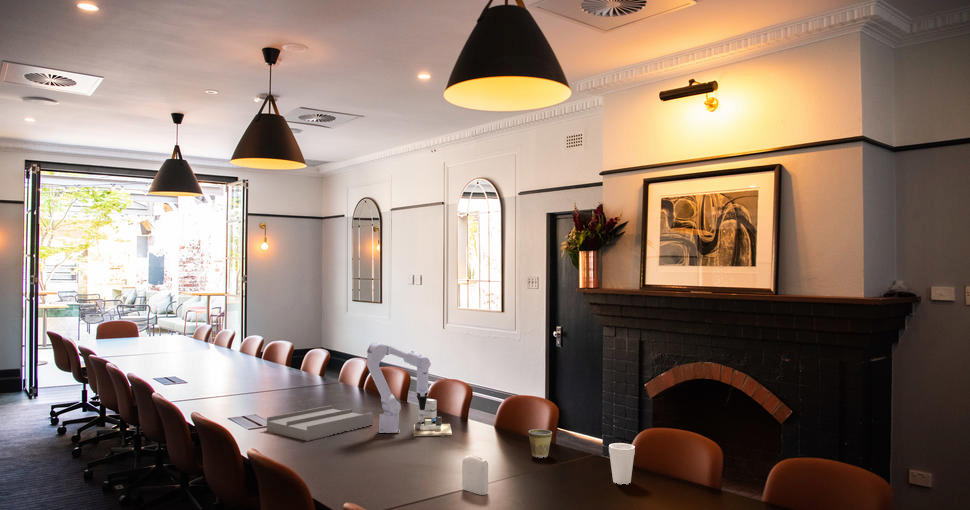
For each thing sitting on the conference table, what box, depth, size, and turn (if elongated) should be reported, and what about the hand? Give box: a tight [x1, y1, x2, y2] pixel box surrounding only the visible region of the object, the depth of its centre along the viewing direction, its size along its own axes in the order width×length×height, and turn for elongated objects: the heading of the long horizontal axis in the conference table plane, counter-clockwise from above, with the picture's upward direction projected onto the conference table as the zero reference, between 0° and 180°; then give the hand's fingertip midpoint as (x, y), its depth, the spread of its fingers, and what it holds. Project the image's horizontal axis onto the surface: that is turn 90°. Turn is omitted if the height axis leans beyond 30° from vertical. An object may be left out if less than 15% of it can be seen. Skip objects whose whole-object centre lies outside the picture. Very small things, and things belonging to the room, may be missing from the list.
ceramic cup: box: [528, 428, 553, 459], centre depth 274 cm, size 13×10×10 cm
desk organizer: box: [266, 404, 373, 442], centre depth 320 cm, size 32×40×7 cm
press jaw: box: [425, 419, 431, 425], centre depth 316 cm, size 3×3×4 cm
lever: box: [415, 416, 443, 431], centre depth 311 cm, size 13×3×6 cm, turn 98°
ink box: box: [417, 398, 438, 422], centre depth 336 cm, size 8×5×12 cm, turn 59°
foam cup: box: [608, 442, 636, 485], centre depth 238 cm, size 10×9×13 cm
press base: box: [413, 417, 453, 436], centre depth 314 cm, size 18×20×6 cm
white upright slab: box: [461, 454, 489, 496], centre depth 225 cm, size 10×4×12 cm, turn 47°
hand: (422, 408), depth 321 cm, fingers open, 7 cm apart
